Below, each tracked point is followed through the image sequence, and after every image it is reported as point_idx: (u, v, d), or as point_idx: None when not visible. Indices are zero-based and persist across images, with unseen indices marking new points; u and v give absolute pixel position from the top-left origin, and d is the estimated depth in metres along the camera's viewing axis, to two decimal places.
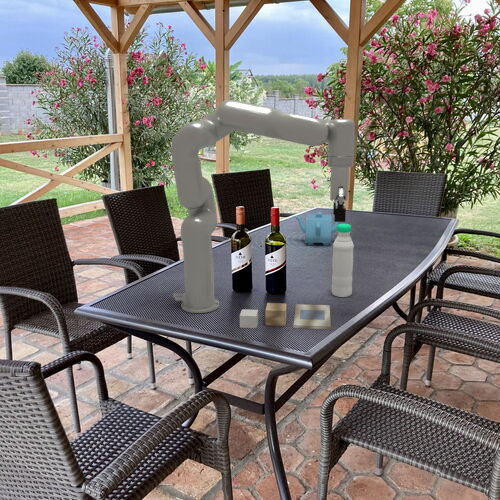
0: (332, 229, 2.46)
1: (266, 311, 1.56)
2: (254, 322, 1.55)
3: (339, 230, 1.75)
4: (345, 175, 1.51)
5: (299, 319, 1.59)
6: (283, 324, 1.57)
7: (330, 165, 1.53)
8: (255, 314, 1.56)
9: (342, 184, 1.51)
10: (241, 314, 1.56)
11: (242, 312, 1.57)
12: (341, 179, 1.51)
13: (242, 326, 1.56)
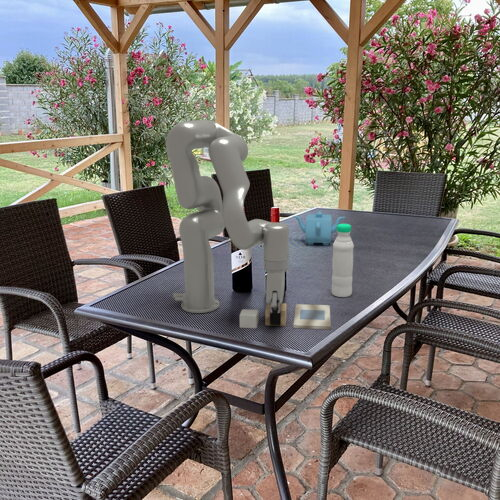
0: (332, 229, 2.46)
1: (266, 311, 1.56)
2: (254, 322, 1.55)
3: (339, 230, 1.75)
4: (279, 280, 1.52)
5: (299, 319, 1.59)
6: (283, 324, 1.57)
7: (265, 268, 1.54)
8: (255, 314, 1.56)
9: (276, 289, 1.52)
10: (241, 314, 1.56)
11: (242, 312, 1.58)
12: (275, 284, 1.52)
13: (242, 326, 1.56)
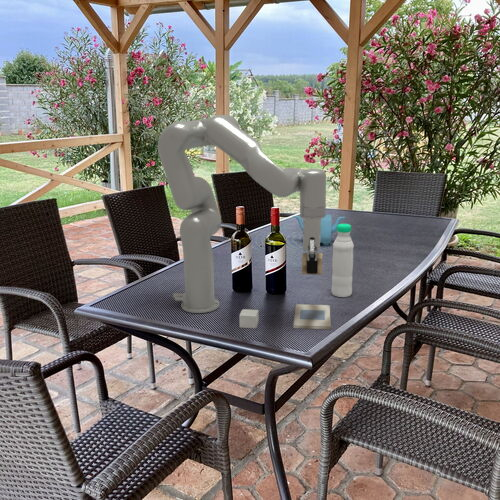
0: (332, 229, 2.46)
1: (303, 259, 1.55)
2: (254, 322, 1.55)
3: (339, 230, 1.75)
4: (316, 226, 1.50)
5: (299, 319, 1.59)
6: (320, 272, 1.55)
7: (302, 215, 1.52)
8: (255, 314, 1.56)
9: (313, 235, 1.50)
10: (241, 314, 1.56)
11: (242, 312, 1.58)
12: (312, 230, 1.50)
13: (242, 326, 1.56)
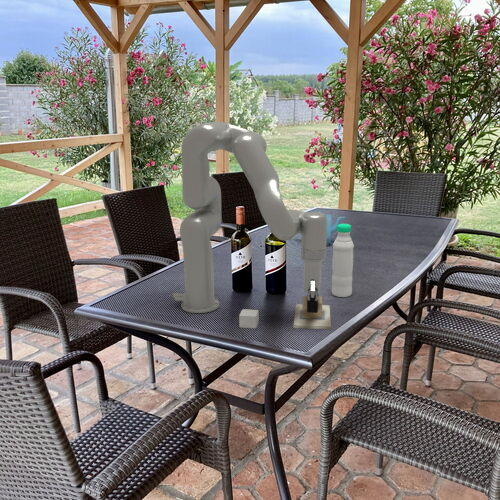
0: (332, 229, 2.46)
1: (303, 304, 1.58)
2: (253, 322, 1.55)
3: (339, 230, 1.75)
4: (317, 269, 1.53)
5: (299, 319, 1.59)
6: (320, 316, 1.59)
7: (303, 257, 1.56)
8: (255, 314, 1.56)
9: (314, 277, 1.54)
10: (241, 314, 1.56)
11: (242, 312, 1.58)
12: (313, 272, 1.54)
13: (241, 326, 1.56)
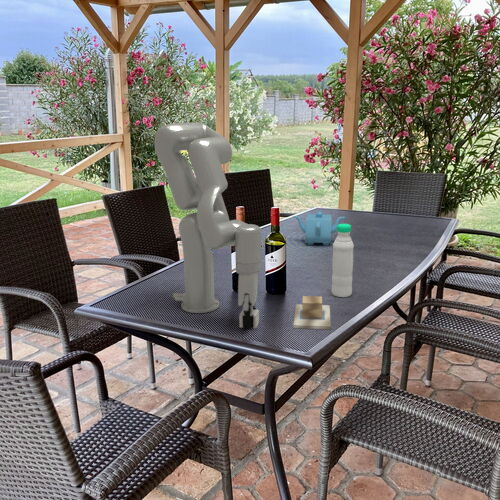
0: (332, 229, 2.46)
1: (303, 304, 1.58)
2: None
3: (339, 230, 1.75)
4: (251, 282, 1.50)
5: (299, 319, 1.59)
6: (320, 316, 1.59)
7: (237, 271, 1.52)
8: (255, 314, 1.56)
9: (248, 291, 1.50)
10: (241, 313, 1.56)
11: (242, 311, 1.58)
12: (247, 286, 1.50)
13: (242, 326, 1.56)
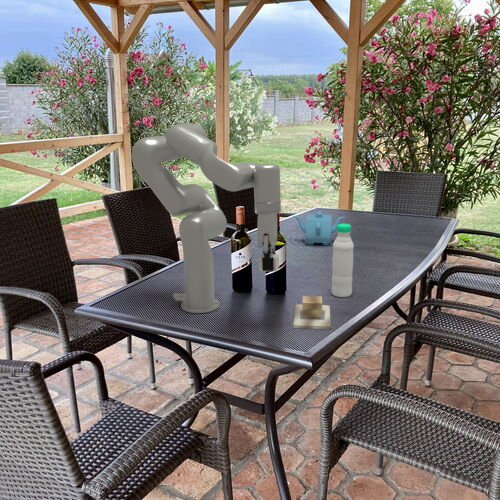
0: (332, 229, 2.46)
1: (303, 304, 1.58)
2: None
3: (339, 230, 1.75)
4: (270, 222, 1.46)
5: (299, 319, 1.59)
6: (320, 316, 1.59)
7: (256, 211, 1.49)
8: (275, 257, 1.52)
9: (267, 231, 1.47)
10: (261, 257, 1.53)
11: None
12: (266, 226, 1.46)
13: (261, 269, 1.52)
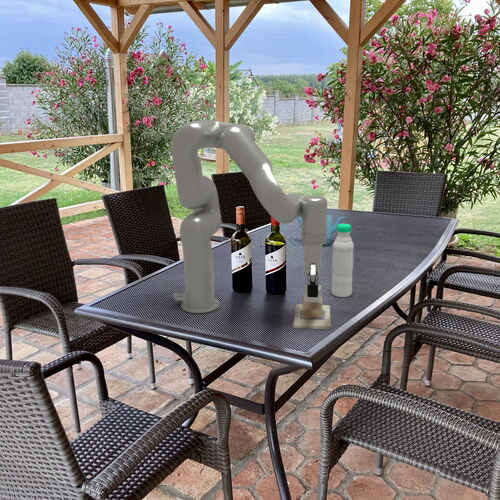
0: (332, 229, 2.46)
1: (303, 304, 1.58)
2: (318, 296, 1.58)
3: (339, 230, 1.75)
4: (317, 252, 1.52)
5: (299, 319, 1.59)
6: (320, 316, 1.59)
7: (303, 241, 1.54)
8: (319, 288, 1.58)
9: (314, 261, 1.52)
10: (305, 288, 1.59)
11: (306, 287, 1.60)
12: (313, 256, 1.52)
13: (306, 300, 1.59)
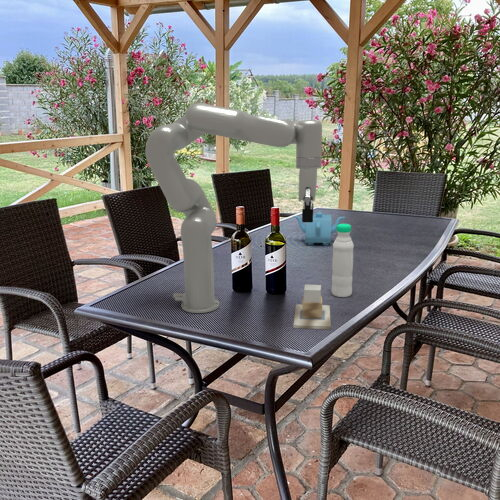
0: (332, 229, 2.46)
1: (303, 304, 1.58)
2: (318, 296, 1.58)
3: (339, 230, 1.75)
4: (312, 176, 1.52)
5: (299, 319, 1.59)
6: (320, 316, 1.59)
7: (298, 166, 1.55)
8: (319, 288, 1.58)
9: (309, 185, 1.53)
10: (305, 288, 1.59)
11: (306, 287, 1.60)
12: (308, 180, 1.52)
13: (306, 300, 1.59)
